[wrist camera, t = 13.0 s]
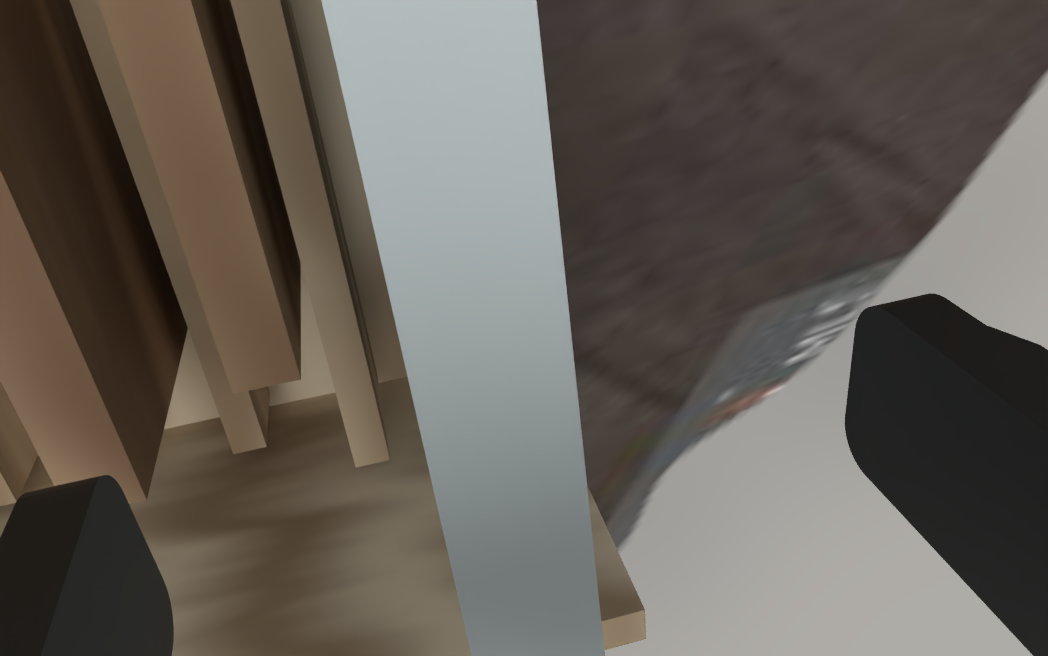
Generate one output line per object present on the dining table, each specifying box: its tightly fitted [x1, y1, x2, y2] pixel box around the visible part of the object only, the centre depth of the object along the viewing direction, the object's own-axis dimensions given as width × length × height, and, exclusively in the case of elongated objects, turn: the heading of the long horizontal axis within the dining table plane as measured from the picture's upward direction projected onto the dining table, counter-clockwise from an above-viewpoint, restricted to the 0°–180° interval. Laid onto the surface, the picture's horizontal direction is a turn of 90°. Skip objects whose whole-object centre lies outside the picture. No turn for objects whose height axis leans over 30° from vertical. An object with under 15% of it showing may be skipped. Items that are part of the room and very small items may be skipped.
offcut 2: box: [98, 0, 301, 394], centre depth 20 cm, size 2×10×7 cm, turn 6°
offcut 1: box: [0, 0, 188, 504], centre depth 19 cm, size 2×12×9 cm, turn 7°
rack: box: [0, 0, 646, 656], centre depth 19 cm, size 18×22×14 cm
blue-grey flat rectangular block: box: [321, 0, 605, 656], centre depth 16 cm, size 2×16×18 cm, turn 7°
